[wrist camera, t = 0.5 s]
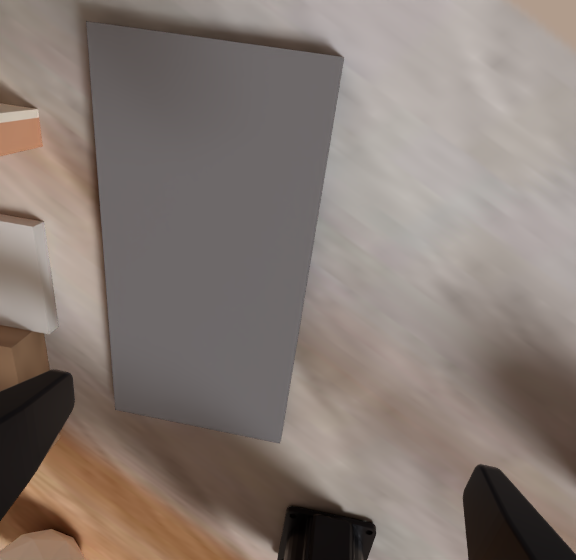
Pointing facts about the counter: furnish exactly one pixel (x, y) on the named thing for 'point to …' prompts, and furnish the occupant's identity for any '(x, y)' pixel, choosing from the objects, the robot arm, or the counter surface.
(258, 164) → the mat
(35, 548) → the ball
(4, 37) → the counter surface
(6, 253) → the two-tone stepped block
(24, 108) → the tile
